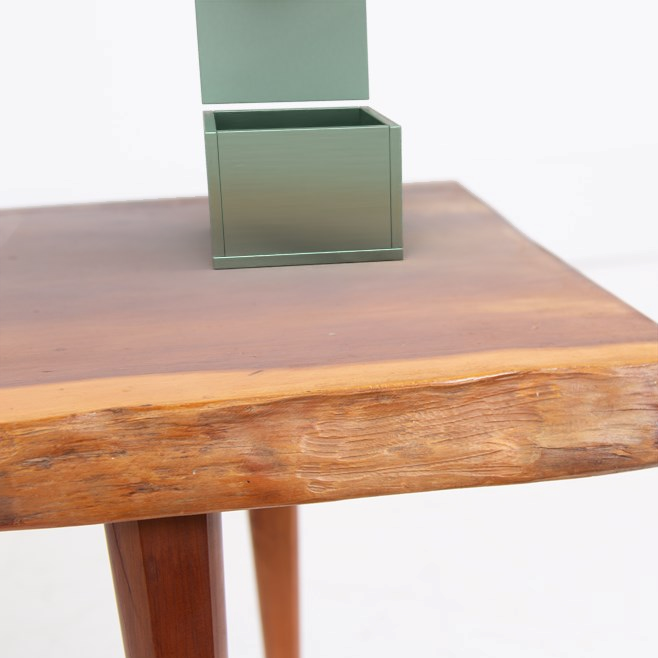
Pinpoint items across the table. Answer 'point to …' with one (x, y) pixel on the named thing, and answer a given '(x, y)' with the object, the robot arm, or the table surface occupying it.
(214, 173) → the box
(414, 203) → the table surface
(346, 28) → the lid
